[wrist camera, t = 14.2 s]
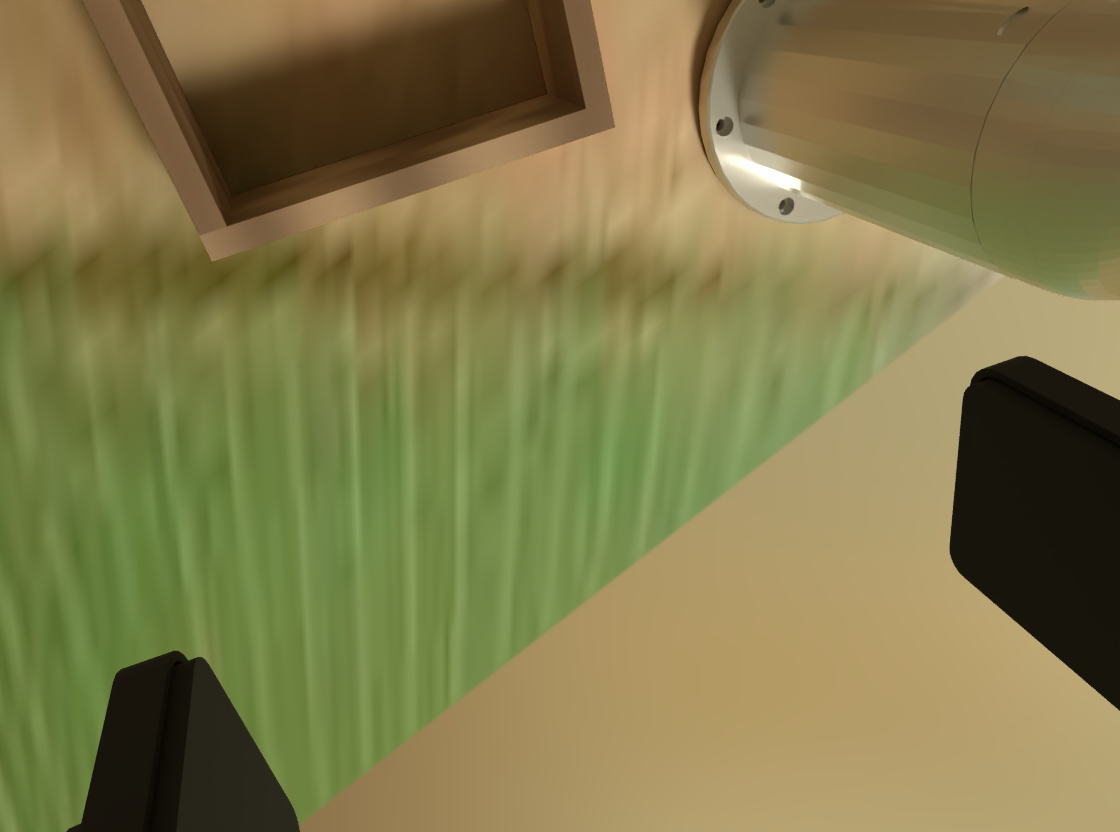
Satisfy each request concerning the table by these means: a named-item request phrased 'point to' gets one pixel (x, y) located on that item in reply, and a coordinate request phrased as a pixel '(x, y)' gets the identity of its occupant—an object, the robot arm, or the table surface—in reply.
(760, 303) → the table surface
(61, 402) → the table surface
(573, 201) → the table surface
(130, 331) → the table surface
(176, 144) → the cubby
